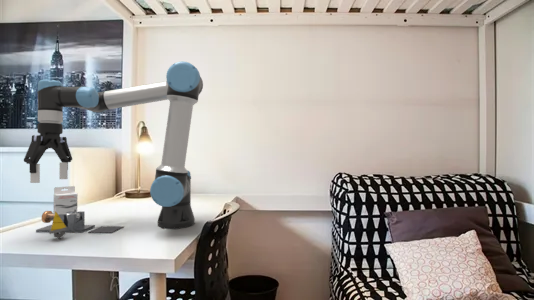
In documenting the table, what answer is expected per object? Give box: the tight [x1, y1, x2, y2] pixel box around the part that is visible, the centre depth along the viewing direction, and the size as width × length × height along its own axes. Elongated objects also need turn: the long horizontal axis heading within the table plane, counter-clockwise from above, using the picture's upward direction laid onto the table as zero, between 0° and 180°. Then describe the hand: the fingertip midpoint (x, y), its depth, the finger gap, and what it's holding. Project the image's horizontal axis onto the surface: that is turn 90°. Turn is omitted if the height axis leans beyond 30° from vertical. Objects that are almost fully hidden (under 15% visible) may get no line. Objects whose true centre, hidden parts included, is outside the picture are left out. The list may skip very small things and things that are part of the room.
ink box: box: [53, 185, 78, 213], centre depth 138 cm, size 8×5×15 cm, turn 134°
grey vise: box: [35, 210, 96, 234], centre depth 120 cm, size 18×8×7 cm, turn 88°
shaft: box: [41, 210, 81, 224], centre depth 120 cm, size 13×5×5 cm, turn 88°
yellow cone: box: [48, 211, 68, 240], centre depth 107 cm, size 5×5×10 cm
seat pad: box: [88, 225, 124, 234], centre depth 119 cm, size 9×9×1 cm
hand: (50, 180), depth 112 cm, fingers open, 13 cm apart
